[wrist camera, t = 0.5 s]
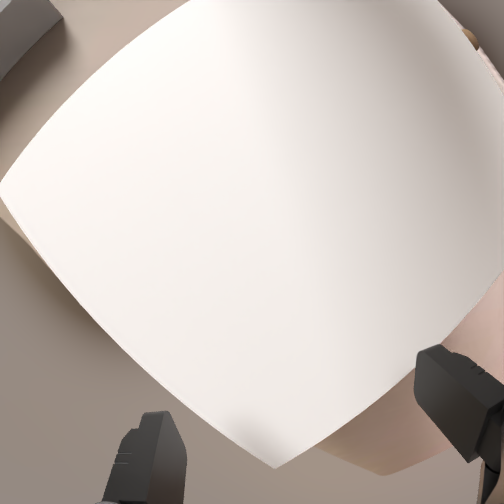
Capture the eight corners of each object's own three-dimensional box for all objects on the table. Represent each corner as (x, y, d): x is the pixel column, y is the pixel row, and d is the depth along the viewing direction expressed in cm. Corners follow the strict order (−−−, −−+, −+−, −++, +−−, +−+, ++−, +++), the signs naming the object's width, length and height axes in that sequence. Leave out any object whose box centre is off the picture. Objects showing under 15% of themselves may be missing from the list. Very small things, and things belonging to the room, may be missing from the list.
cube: (288, 60, 34) (361, -71, 10) (393, 191, 38) (548, 201, 14) (129, 188, 35) (-5, 189, 11) (246, 318, 39) (274, 469, 15)
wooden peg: (423, 47, 34) (458, 25, 25) (439, 51, 34) (475, 32, 25) (427, 66, 34) (464, 47, 25) (444, 70, 35) (481, 53, 26)
